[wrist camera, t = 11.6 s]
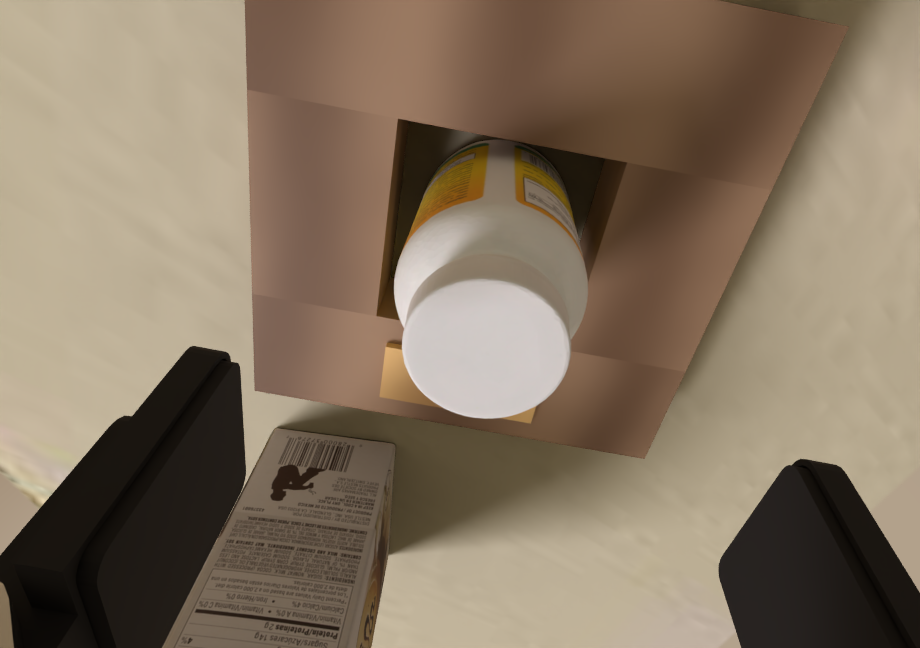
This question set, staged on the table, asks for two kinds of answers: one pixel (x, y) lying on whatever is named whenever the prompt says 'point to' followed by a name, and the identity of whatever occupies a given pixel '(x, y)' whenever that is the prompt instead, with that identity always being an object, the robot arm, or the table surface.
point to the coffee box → (298, 550)
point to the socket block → (529, 121)
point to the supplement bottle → (491, 282)
